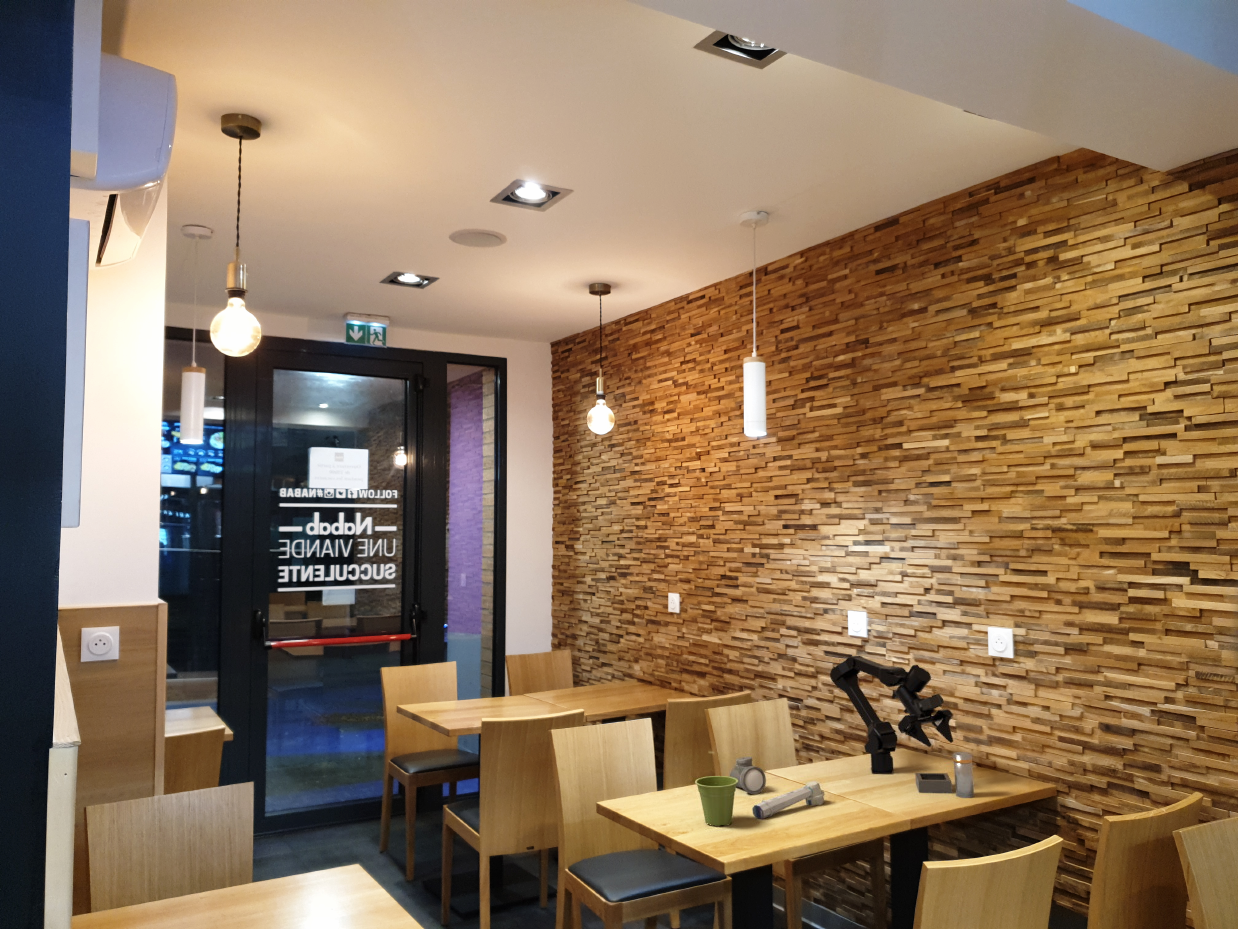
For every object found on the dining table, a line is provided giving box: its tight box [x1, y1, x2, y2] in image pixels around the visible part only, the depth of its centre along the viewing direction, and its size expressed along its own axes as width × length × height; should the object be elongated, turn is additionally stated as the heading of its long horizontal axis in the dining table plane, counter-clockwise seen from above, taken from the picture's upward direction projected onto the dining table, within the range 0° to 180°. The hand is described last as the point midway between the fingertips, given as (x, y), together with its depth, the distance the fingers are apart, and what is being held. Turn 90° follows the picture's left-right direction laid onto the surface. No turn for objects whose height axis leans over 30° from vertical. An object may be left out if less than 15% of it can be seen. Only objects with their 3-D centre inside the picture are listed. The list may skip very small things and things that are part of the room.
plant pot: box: [694, 775, 738, 827], centre depth 253 cm, size 12×12×11 cm
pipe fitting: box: [728, 756, 767, 795], centre depth 285 cm, size 12×8×10 cm, turn 21°
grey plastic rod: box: [751, 780, 826, 820], centre depth 262 cm, size 5×7×25 cm
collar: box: [914, 772, 953, 794], centre depth 278 cm, size 9×9×4 cm
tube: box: [952, 751, 975, 799], centre depth 270 cm, size 5×5×12 cm
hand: (941, 744), depth 278 cm, fingers open, 9 cm apart
